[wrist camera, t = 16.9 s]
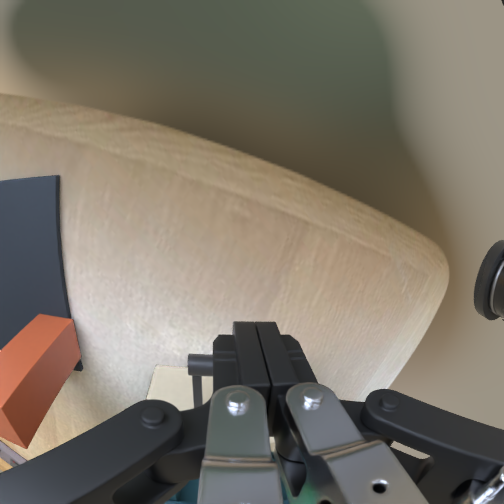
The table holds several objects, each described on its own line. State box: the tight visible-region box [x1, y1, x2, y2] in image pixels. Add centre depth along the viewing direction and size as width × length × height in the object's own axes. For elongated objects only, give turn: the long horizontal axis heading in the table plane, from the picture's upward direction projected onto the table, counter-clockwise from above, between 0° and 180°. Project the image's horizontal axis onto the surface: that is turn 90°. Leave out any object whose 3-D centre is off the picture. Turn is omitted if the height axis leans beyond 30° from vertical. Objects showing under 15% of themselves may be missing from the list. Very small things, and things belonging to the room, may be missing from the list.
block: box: [0, 314, 81, 449], centre depth 15 cm, size 4×4×12 cm
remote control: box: [0, 441, 27, 467], centre depth 25 cm, size 7×16×3 cm, turn 52°
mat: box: [0, 175, 83, 371], centre depth 19 cm, size 18×13×1 cm
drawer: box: [146, 354, 288, 503], centre depth 20 cm, size 18×13×8 cm
